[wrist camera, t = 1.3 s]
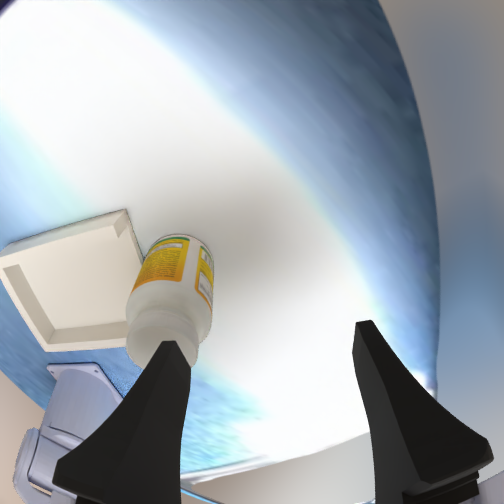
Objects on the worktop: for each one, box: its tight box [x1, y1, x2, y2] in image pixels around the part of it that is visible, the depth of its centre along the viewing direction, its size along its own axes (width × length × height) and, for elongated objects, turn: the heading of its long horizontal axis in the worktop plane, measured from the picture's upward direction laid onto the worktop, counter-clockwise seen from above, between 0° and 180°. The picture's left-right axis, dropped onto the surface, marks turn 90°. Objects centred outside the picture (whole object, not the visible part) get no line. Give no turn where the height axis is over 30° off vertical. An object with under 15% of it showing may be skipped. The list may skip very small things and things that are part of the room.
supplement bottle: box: [126, 235, 214, 369], centre depth 19 cm, size 5×5×10 cm
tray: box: [0, 209, 144, 352], centre depth 22 cm, size 11×13×3 cm
